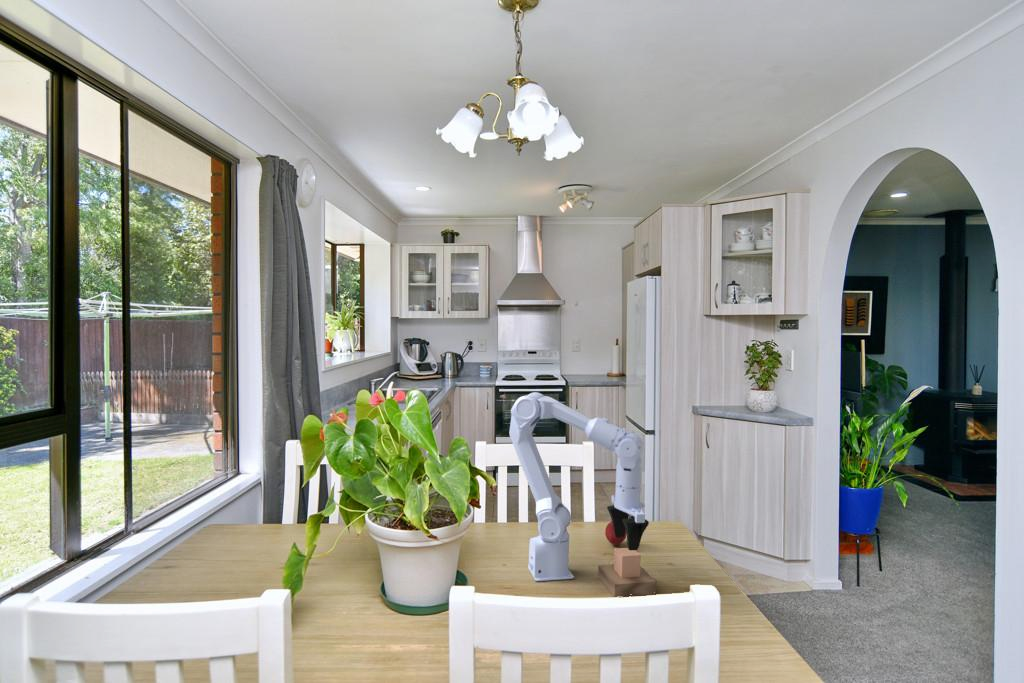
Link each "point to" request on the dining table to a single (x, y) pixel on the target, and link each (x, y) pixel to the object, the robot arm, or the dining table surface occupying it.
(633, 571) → the terracotta cube
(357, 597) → the dining table surface
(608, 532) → the onion
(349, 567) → the dining table surface
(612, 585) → the walnut base
